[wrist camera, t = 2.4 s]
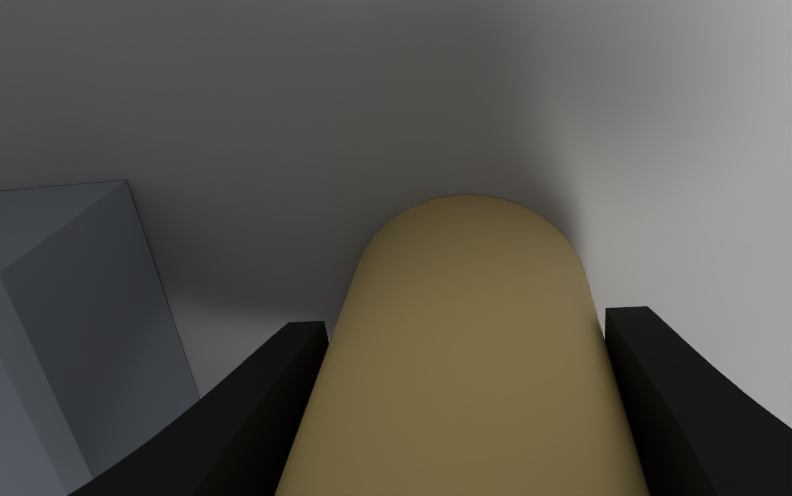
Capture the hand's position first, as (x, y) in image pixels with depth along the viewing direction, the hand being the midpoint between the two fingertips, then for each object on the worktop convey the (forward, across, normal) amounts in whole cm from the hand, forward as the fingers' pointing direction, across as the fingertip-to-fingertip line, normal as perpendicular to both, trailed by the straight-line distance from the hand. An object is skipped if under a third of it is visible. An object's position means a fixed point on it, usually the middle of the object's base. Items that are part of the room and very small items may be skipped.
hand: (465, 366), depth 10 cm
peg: (+2, 0, 0) cm, 2 cm away
